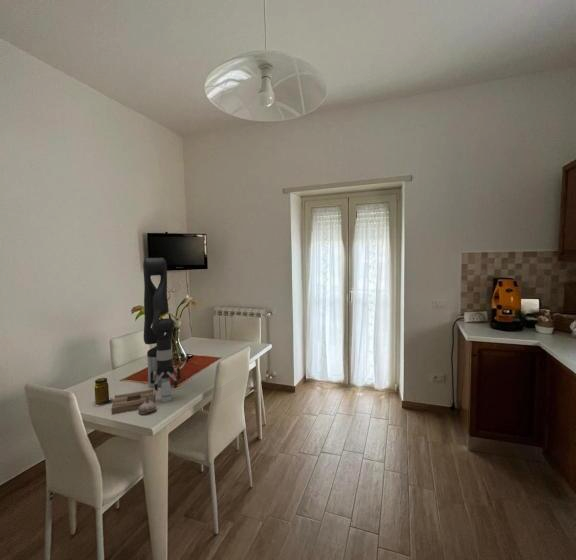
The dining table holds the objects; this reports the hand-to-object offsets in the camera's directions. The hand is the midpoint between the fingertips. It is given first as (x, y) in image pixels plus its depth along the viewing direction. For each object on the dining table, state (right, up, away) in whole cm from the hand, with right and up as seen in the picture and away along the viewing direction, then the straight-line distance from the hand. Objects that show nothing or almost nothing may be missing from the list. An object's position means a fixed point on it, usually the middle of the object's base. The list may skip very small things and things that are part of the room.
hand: (166, 389), depth 158 cm
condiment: (-31, -7, -1) cm, 32 cm away
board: (-15, -6, -3) cm, 16 cm away
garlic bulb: (-4, -7, -12) cm, 14 cm away
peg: (0, -6, +1) cm, 6 cm away
